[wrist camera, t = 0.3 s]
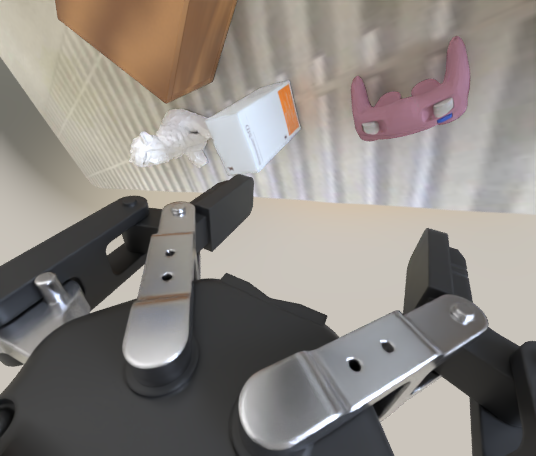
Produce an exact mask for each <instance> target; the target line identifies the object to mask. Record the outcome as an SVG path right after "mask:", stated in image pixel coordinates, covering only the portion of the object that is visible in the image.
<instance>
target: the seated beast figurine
mask: <svg viewBox="0 0 536 456" xmlns="http://www.w3.org/2000/svg"><path fill="white" fill-rule="evenodd" d="M206 119H208V118H206V117H204V116H203V115H198V114H197V113H192V112H190V111H188V110H184V109H171V110H169V111H168V112H167V113H165V116H164V117H163V120H162V124H161V126H160V128H159V130H158V131H157V132H156V133H155V135H149V134H148V133H147V132H145V131H142V132H141V133H140V135H139V136H138V137H136V138H134V139H133V143H132V144H131V145H130V147H131V151H130V153H131V157H130V159H129V162H130V163H134V164H135V165H136V166H139V167H145V166H151V165H158V164H161V163H164V162H165V163H167V162H168V161H169V159H172V158H173V159H177V158H179V157H181V156H182V155H183V154H186V155H187V157H188V159H189V160H190V161H191V162H192V164H195V166H196V167H198V168H200V167H202V166H204V165H205V164H206V163H208V160H207V158H206V156H205V155H204V153H203V151H204V148H205V146H206V144H207V140H209V139H210V138H211V139H212V137H211V135H210V132H209V130H208V128H207V125H206V123H205V120H206ZM197 132H198V134H196V133H197Z"/></svg>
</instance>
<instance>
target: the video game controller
mask: <svg viewBox="0 0 536 456" xmlns="http://www.w3.org/2000/svg"><path fill="white" fill-rule="evenodd" d="M469 88H470V69H469V63H468V58H467V53H466V48H465V44H464V42H463V40H462V39H461V38H460V37H459V36H455V37H453V38H452V40H451V41H450V43H449V46H448V50H447V58H446V72H445V77H444V81H443V83H442V84H440V83H439V82H438V81H437V80H435V79H426V80H424V81H421V82H420V83H418V84H416V85H415V86H414V87H413V89H412V91H411V94H412V97H408V98H404V99H401V95H400V93H399V92H395V91H393V92H388V93H386V94H384V95H383V96H382V97H381V98H380V99H379V100H378V102H377V103H376V105H375V106H374V107H372V106H371V104H370V102H369V100H368V96H367V92H366V88H365V85H364V83H363V80H362V79H361V77H359V76H356V77H355V78H354V79H353V81H352V85H351V99H352V112H353V117H354V122H355V128H356V131H357V133H358V135H359V137H360V138H361V139H362V140H365V141H375V140H378V139H391V138H397V137H402V136H407V135H410V134H414V133H417V132H420V131H423V130H426V129H429V128H431V127H433V126H435V125H441V124H446V123H449V122H452V121H454V120H456V119H458V118H459V117H460V116H461V115H462V114H463V113H464V112H465V110H466V108H467V104H468V100H467V98H468V93H469Z"/></svg>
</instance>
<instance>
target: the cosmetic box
mask: <svg viewBox="0 0 536 456" xmlns="http://www.w3.org/2000/svg"><path fill="white" fill-rule="evenodd" d="M205 123H206V125H207V128H208V130H209V132H210V135H211V137H212V139H213V143H214V146H215V148H216V151H217V153H218V155H219V156H220V158H221V161H222V163H223V165H224V168H225V170H226V172H227V175H228V176H230V175H237V174H248V173H257V172H259V171H260V170H261V169H262V168H263V167H264V166H265V165H266V164H267V163H268V162H269V161H270V160H271V159H272V158H273V157H274V156H275V155H276V154H277V153H278V152H279V151H280V150H281V149H282V148H283V147H284V146H285V145H286V144H287V143H288V142H289V141H290V140H291V139H292V138H293V137H294V136H295V134H296V133H297V132H298V131H299V130H300V129H301V126H300V123H299V119H298V115H297V111H296V107H295V103H294V98H293V94H292V89H291V85H290V81H289V80H287V81H283V82H279V83H276V84H272V85H268V86H265V87H261V88H259V89H257V90H256V91H254V92H252V93H251V94H249V95H247V96H245V97H244V98H242V99H240V100H239V101H237V102H235V103H234V104H232V105H230V106H229V107H227V108H225V109H224V110H222V111H220V112H219V113H217V114H215V115H213V116H212V117H210V118H208V119H206V120H205Z"/></svg>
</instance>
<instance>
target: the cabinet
mask: <svg viewBox="0 0 536 456" xmlns="http://www.w3.org/2000/svg"><path fill="white" fill-rule="evenodd" d="M55 3H56V10H57V16H58V19H59V20H60V21H61V22H63V23H64V24H65V25H66V26H68V27H69V28H70V29H71V30H73V31H74V32H75V33H77V34H78V35H79V36H80V37H82V38H83V39H84V40H85V41H87V42H88V43H89V44H91V45H92V46H93V47H94V48H96V49H97V50H98V51H99V52H101V53H102V54H103V55H105V56H106V57H107V58H108V59H110V60H111V61H112V62H113V63H115V64H116V65H117V66H119V67H120V68H121V69H122V70H124V71H125V72H126V73H127V74H129V75H130V76H131V77H133V78H134V79H135V80H136V81H138V82H139V83H140V84H141V85H143V86H144V87H145V88H147V89H148V90H149V91H150V92H152V93H153V94H154V95H155V96H157V97H158V98H159V99H161V100H162V101H163V102H164V103H166V104H167V103H169V102H171V101H173V100H175V99H177V98H179V97H181V96H183V95H186V94H188V93H190V92H192V91H194V90H196V89H198V88H200V87H203V86H205V85H207V84H209V83H211V82H213V79H214V75H215V72H216V69H217V65H218V62H219V59H220V56H221V52H222V49H223V46H224V42H225V39H226V36H227V32H228V29H229V26H230V23H231V19H232V16H233V13H234V9H235V6H236V3H237V0H55Z"/></svg>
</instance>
